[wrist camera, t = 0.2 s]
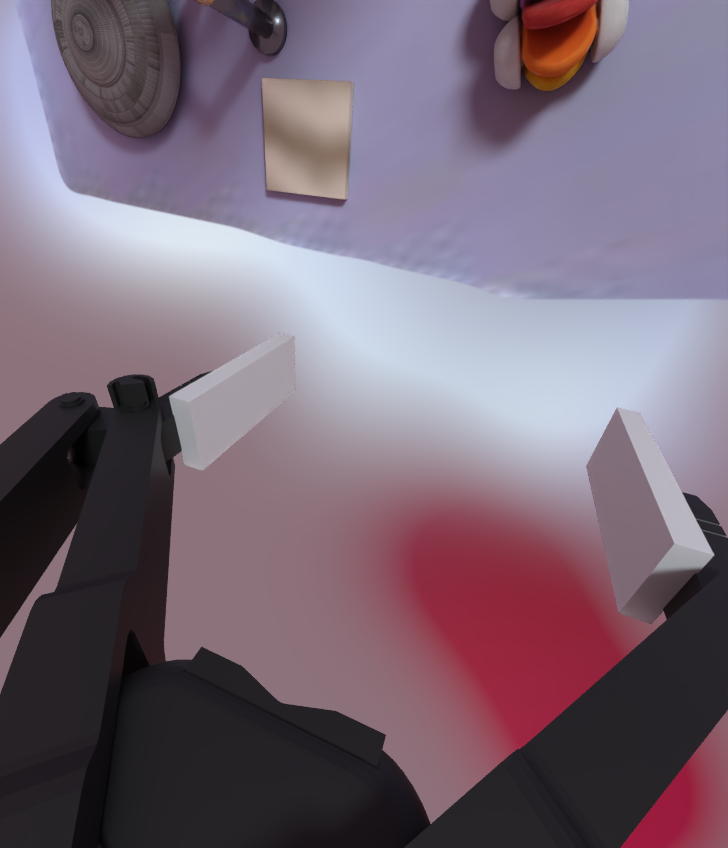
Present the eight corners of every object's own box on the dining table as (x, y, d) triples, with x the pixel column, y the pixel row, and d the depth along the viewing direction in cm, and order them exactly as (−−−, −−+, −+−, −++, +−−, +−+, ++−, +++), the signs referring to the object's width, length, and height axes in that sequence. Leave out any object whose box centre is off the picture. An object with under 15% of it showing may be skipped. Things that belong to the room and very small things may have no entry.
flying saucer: (71, 94, 44) (21, 84, 40) (69, -98, 35) (4, -139, 31) (178, 167, 44) (139, 164, 39) (203, -8, 35) (157, -37, 30)
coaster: (266, 80, 36) (261, 77, 36) (353, 83, 34) (350, 81, 33) (270, 189, 41) (266, 189, 41) (347, 199, 39) (344, 199, 38)
